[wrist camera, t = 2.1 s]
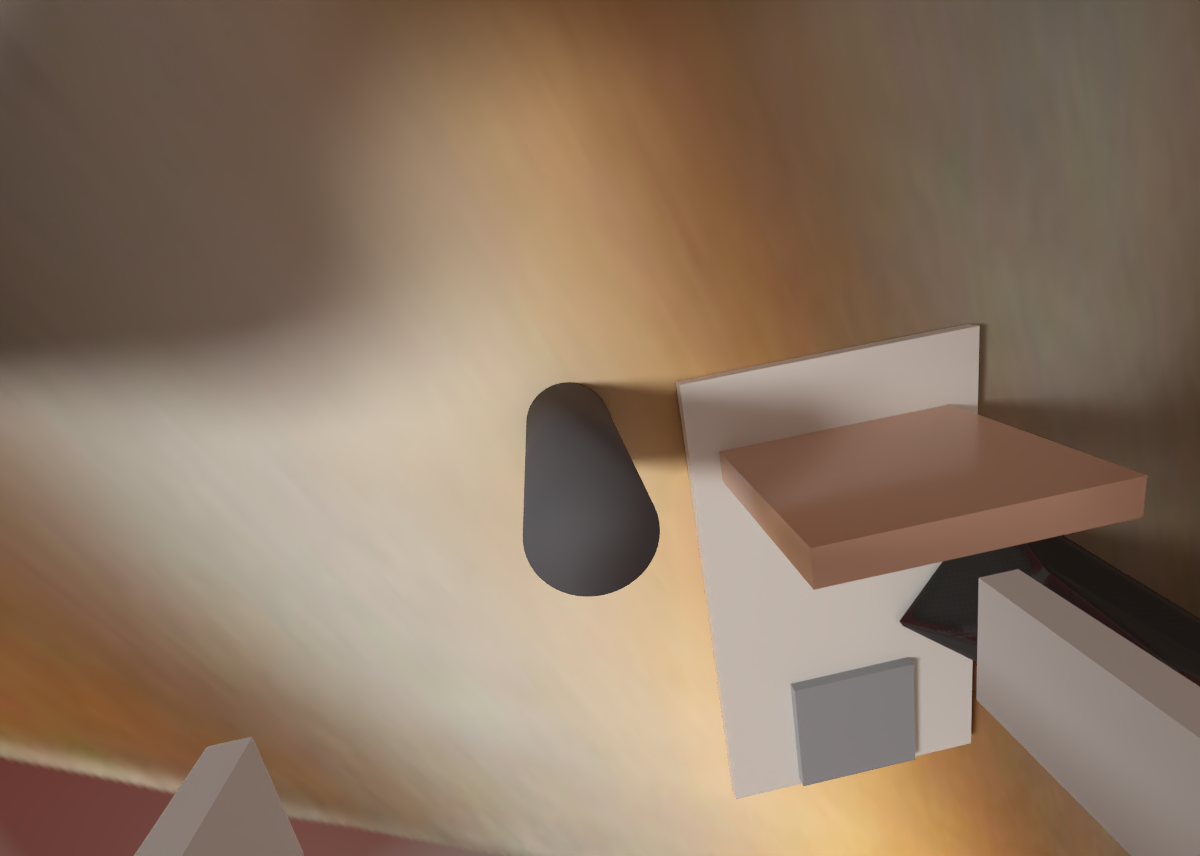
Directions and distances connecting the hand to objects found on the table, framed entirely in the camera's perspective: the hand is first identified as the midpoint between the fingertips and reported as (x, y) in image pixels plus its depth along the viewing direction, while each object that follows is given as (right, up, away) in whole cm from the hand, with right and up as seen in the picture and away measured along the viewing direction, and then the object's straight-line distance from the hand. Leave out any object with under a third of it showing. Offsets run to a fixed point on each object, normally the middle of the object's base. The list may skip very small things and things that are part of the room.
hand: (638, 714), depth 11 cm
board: (+13, -3, +22) cm, 26 cm away
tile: (+11, +4, +19) cm, 22 cm away
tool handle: (-2, +5, +18) cm, 19 cm away
